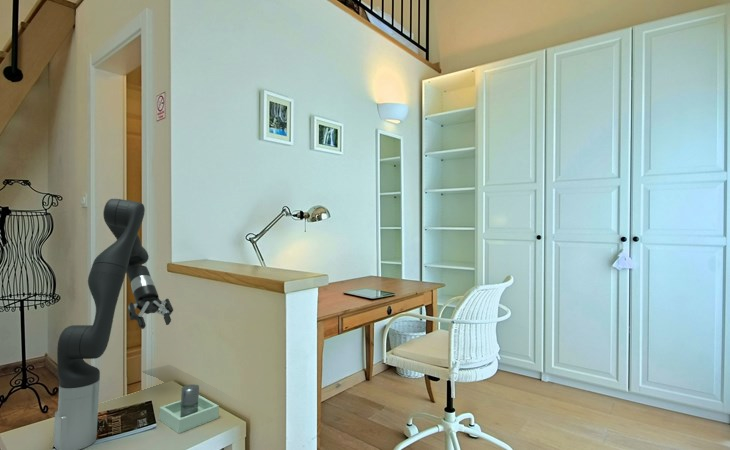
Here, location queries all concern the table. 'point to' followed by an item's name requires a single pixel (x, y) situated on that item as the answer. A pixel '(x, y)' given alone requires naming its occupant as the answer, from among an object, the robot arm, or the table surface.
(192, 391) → the metal tin
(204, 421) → the tray
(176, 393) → the table surface
